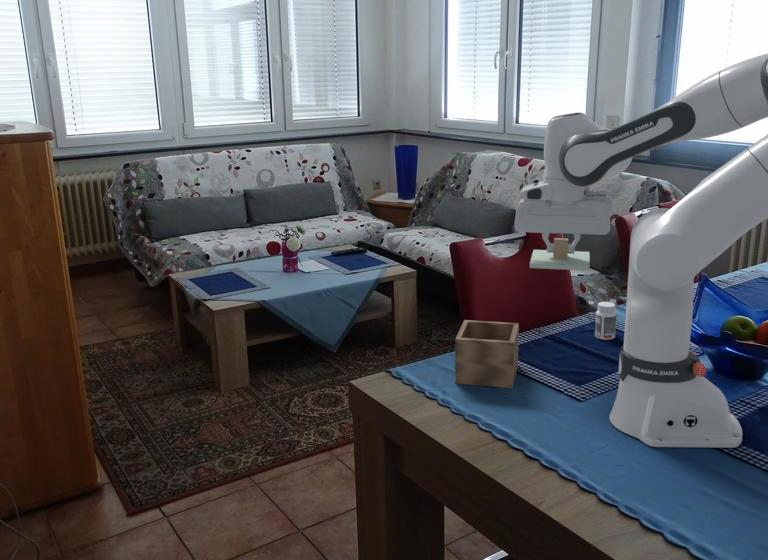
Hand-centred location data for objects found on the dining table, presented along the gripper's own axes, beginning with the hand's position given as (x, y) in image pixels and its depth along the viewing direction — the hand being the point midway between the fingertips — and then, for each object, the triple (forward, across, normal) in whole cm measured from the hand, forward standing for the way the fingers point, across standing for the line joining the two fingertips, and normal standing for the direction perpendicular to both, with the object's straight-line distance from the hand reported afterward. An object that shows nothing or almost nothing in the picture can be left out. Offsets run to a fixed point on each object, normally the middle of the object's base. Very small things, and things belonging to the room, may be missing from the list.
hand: (560, 252), depth 160 cm
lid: (+2, 0, 0) cm, 2 cm away
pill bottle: (+24, -11, -14) cm, 30 cm away
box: (+24, +14, +14) cm, 31 cm away
